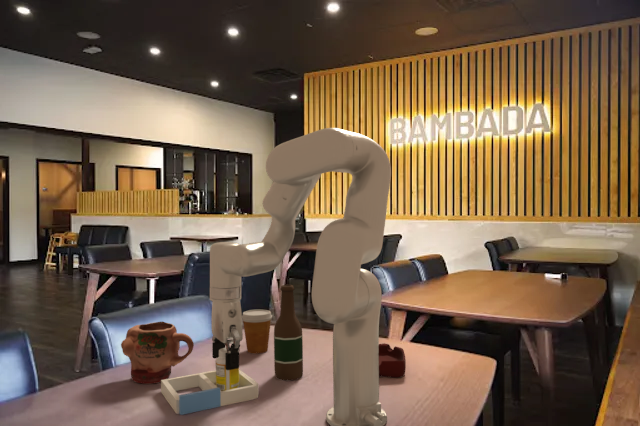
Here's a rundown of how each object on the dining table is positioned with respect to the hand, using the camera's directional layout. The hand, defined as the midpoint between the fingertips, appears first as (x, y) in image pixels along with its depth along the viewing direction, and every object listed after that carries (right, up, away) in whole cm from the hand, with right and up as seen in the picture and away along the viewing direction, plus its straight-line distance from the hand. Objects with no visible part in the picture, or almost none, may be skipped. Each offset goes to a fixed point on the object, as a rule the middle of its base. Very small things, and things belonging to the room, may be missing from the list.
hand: (225, 363), depth 123 cm
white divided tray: (-3, -7, -2) cm, 8 cm away
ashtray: (+40, -7, +13) cm, 42 cm away
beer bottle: (+15, -7, +10) cm, 19 cm away
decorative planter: (-20, -7, +10) cm, 23 cm away
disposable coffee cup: (+4, -7, +34) cm, 35 cm away
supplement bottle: (+1, -7, 0) cm, 7 cm away
